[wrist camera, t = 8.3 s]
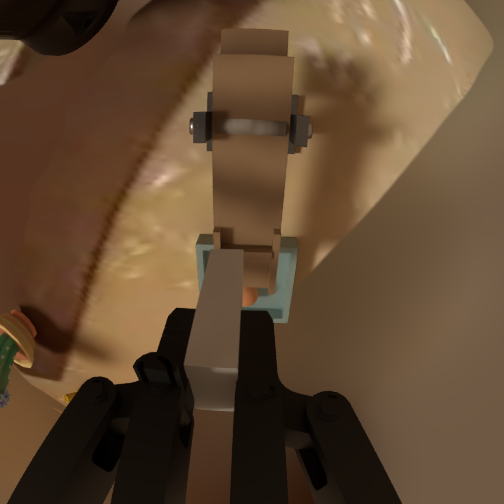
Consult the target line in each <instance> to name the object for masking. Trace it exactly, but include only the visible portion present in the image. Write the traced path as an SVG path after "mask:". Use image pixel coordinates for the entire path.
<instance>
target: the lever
mask: <svg viewBox="0 0 504 504" xmlns="http://www.w3.org/2000/svg"><path fill="white" fill-rule="evenodd" d="M288 32H289V31H282V30H269V29H222V32H221V54H214V60H213V106H212V161H213V210H214V231H213V241H214V249H240V250H244V254H243V287H256V288H268V294H274V293H275V284H276V276H277V267H278V258H279V249H280V240H281V221H282V211H283V200H284V190H285V178H286V167H287V155H288V142H289V129H290V116H291V101H292V85H293V68H294V57H287V53H288Z"/></svg>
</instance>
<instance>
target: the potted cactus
mask: <svg viewBox="0 0 504 504" xmlns="http://www.w3.org/2000/svg"><path fill="white" fill-rule="evenodd" d="M36 334H37V333H36V330H35V327H34V326H33V324H32V323H31V321H30V320H29V319H28V318H27V317H26V316H25V315H24V314H23V313H21V312H19V311H18V310H12V312H11V314H4V315H1V316H0V408H2V407H4V406H6V405H7V404H8V403H9V398H10V396H11V394H9V395H8V388H7V387H8V381H9V373H10V370H11V367H12V364H13V361H14V362H16V363H18V364H19V365H21V366H23V367H28V368H31V366H32V364H33V360H34V357H33V351H34V346H35V344H34V337H35V336H36Z"/></svg>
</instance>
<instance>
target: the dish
mask: <svg viewBox="0 0 504 504" xmlns="http://www.w3.org/2000/svg"><path fill="white" fill-rule="evenodd" d="M211 249H214V241H213V235H202V234H200V235H199V237H198V240H197V243H196V255H197V268H198V280H199V292H200V291H201V287H202V283H203V279H204V275H205V271H206V267H207V263H208V259H209V255H210V251H211ZM297 255H298V245H297V241H296V238H288V237H281V240H280V249H279V258H278V267H277V276H276V284H275V293H274V294H268V288H257V290H258V298H257V301H256V302H255V303H254V304H253V305H251V306H248V307H243V306H242V310H265V311H268V313H269V314H270V316H271V317H272V319H273V323H287V322H288V316H289V309H290V302H291V297H292V290H293V284H294V277H295V270H296V263H297Z"/></svg>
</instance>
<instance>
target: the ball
mask: <svg viewBox="0 0 504 504" xmlns="http://www.w3.org/2000/svg"><path fill="white" fill-rule="evenodd" d="M257 298H258V290H257V288H256V287H243V307H248V306H251V305H253V304H254V303H255V302H256V301H257Z"/></svg>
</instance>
